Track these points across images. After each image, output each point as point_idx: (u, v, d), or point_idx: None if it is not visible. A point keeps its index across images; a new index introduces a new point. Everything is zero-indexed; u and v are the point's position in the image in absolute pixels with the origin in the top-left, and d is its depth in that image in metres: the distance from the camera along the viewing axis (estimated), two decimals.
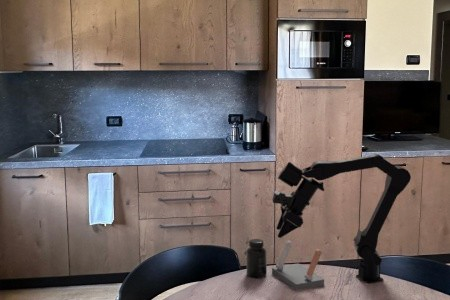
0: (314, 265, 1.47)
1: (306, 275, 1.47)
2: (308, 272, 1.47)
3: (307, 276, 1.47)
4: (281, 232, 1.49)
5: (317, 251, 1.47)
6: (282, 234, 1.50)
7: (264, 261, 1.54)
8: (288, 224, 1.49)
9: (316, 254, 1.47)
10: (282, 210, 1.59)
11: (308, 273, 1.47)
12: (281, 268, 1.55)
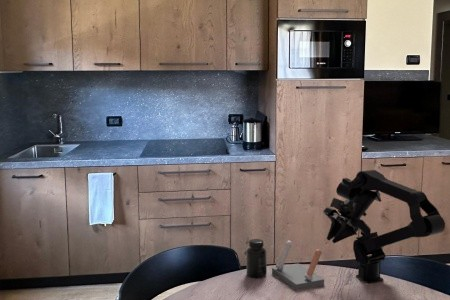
0: (314, 265, 1.47)
1: (306, 275, 1.47)
2: (308, 272, 1.47)
3: (307, 276, 1.47)
4: (337, 237, 1.48)
5: (317, 251, 1.47)
6: (337, 239, 1.48)
7: (264, 261, 1.54)
8: (345, 230, 1.48)
9: (316, 254, 1.47)
10: (335, 220, 1.52)
11: (308, 273, 1.47)
12: (281, 268, 1.55)
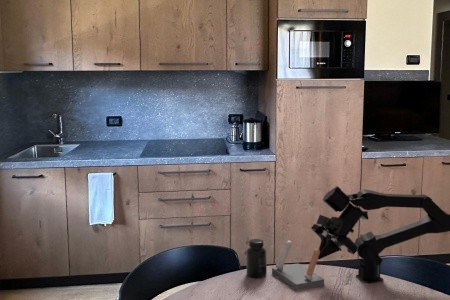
0: (313, 265, 1.47)
1: (306, 275, 1.47)
2: (308, 272, 1.47)
3: (307, 276, 1.47)
4: (322, 254, 1.48)
5: (315, 251, 1.47)
6: (322, 256, 1.48)
7: (264, 261, 1.54)
8: (330, 246, 1.48)
9: (315, 254, 1.47)
10: (324, 238, 1.49)
11: (308, 273, 1.47)
12: (281, 268, 1.55)
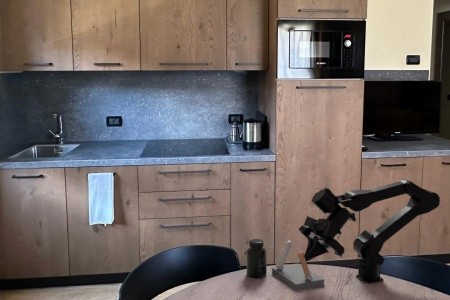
0: (305, 266, 1.45)
1: (306, 277, 1.47)
2: (305, 274, 1.47)
3: (307, 278, 1.47)
4: (309, 256, 1.46)
5: (299, 255, 1.44)
6: (309, 258, 1.46)
7: (264, 261, 1.54)
8: (317, 248, 1.46)
9: (300, 258, 1.45)
10: (311, 240, 1.47)
11: (306, 275, 1.47)
12: (281, 268, 1.55)
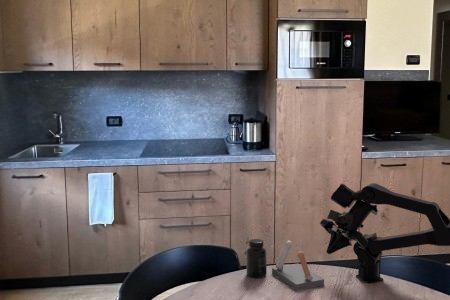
0: (305, 267, 1.45)
1: (306, 277, 1.47)
2: (305, 274, 1.47)
3: (307, 278, 1.47)
4: (332, 248, 1.48)
5: (299, 255, 1.44)
6: (332, 251, 1.49)
7: (264, 261, 1.54)
8: (340, 241, 1.49)
9: (300, 258, 1.45)
10: (334, 233, 1.50)
11: (306, 275, 1.47)
12: (281, 268, 1.55)
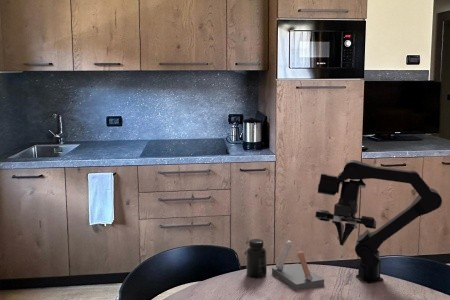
0: (305, 267, 1.45)
1: (306, 277, 1.47)
2: (305, 274, 1.47)
3: (307, 278, 1.47)
4: (345, 239, 1.48)
5: (299, 255, 1.44)
6: (345, 241, 1.48)
7: (264, 261, 1.54)
8: None
9: (300, 258, 1.45)
10: (341, 224, 1.48)
11: (306, 275, 1.47)
12: (281, 268, 1.55)
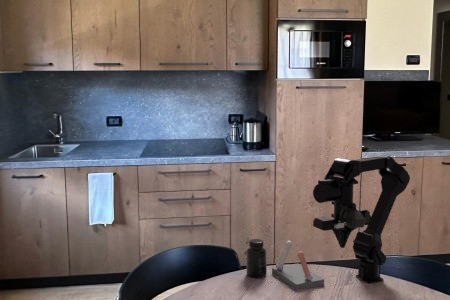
0: (305, 267, 1.45)
1: (306, 277, 1.47)
2: (305, 274, 1.47)
3: (307, 278, 1.47)
4: None
5: (299, 255, 1.44)
6: None
7: (264, 261, 1.54)
8: None
9: (300, 258, 1.45)
10: None
11: (306, 275, 1.47)
12: (281, 268, 1.55)
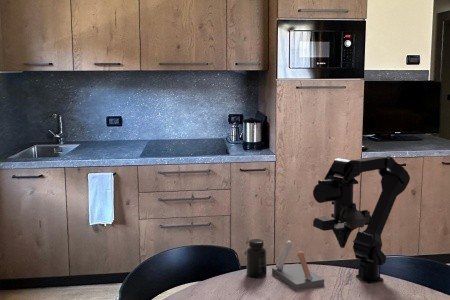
0: (305, 267, 1.45)
1: (306, 277, 1.47)
2: (305, 274, 1.47)
3: (307, 278, 1.47)
4: None
5: (299, 255, 1.44)
6: None
7: (264, 261, 1.54)
8: None
9: (300, 258, 1.45)
10: None
11: (306, 275, 1.47)
12: (281, 268, 1.55)
